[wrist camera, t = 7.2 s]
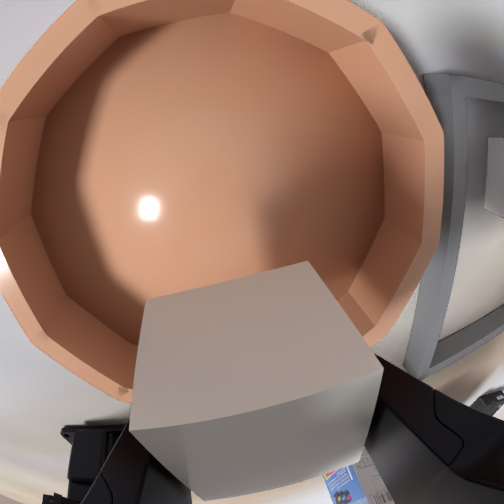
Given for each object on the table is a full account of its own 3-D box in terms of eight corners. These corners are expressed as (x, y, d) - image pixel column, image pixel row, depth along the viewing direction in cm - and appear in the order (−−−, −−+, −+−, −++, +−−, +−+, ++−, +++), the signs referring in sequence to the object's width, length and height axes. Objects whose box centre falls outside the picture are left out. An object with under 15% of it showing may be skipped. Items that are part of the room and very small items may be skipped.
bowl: (385, 310, 16) (418, 349, 13) (108, 378, 15) (100, 428, 12) (368, -3, 9) (418, -23, 6) (-9, 82, 7) (-60, 82, 4)
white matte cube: (315, 368, 10) (359, 461, 7) (193, 398, 10) (204, 501, 6) (308, 260, 8) (383, 368, 5) (145, 299, 8) (128, 430, 4)
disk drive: (475, 394, 30) (413, 457, 35) (486, 407, 27) (420, 469, 32) (500, 387, 33) (446, 445, 38) (509, 397, 30) (452, 455, 35)
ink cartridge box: (314, 464, 25) (357, 579, 12) (337, 438, 23) (394, 569, 10) (387, 447, 27) (434, 540, 15) (413, 420, 25) (471, 520, 12)
